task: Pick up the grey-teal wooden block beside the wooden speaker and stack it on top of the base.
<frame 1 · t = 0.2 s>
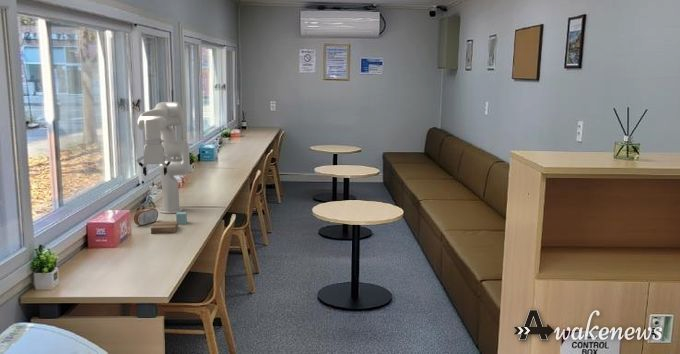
hand: (155, 175, 295), 31 cm above the counter, tool pointing down, fingers open, 9 cm apart
block: (181, 223, 318), on the counter
wooden speaker: (147, 224, 316), on the counter
base: (164, 230, 304), on the counter
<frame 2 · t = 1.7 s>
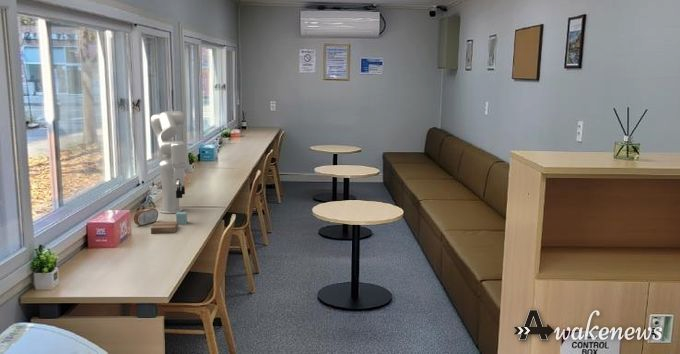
hand: (180, 196, 314), 16 cm above the counter, tool pointing down, fingers open, 9 cm apart
nothing on the counter moved.
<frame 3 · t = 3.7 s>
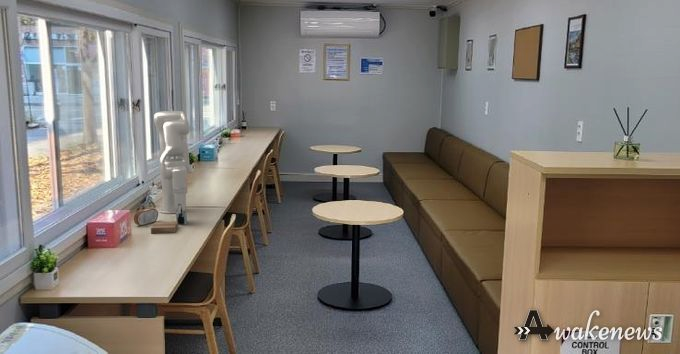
hand: (181, 222, 318), 1 cm above the counter, tool pointing down, fingers closed on block, 5 cm apart
block: (181, 223, 318), on the counter, touching gripper
everything else where it was.
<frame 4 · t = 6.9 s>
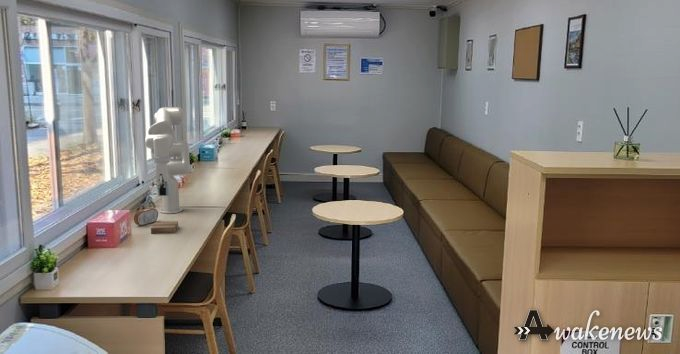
hand: (163, 193, 301), 20 cm above the counter, tool pointing down, fingers closed on block, 5 cm apart
block: (163, 195, 301), point 19 cm above the counter, touching gripper
everything else where it was.
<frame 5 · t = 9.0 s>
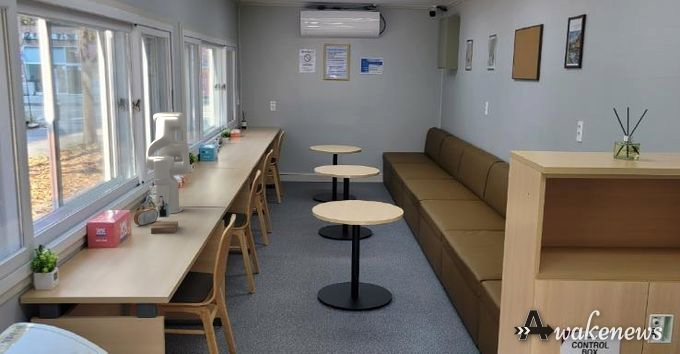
hand: (164, 215, 302), 8 cm above the counter, tool pointing down, fingers closed on block, 5 cm apart
block: (164, 216, 303), point 8 cm above the counter, touching gripper
everything else where it was.
when the fingers open (5 cm above the counter, at t = 10.6 s): block stays where it is, resting on base.
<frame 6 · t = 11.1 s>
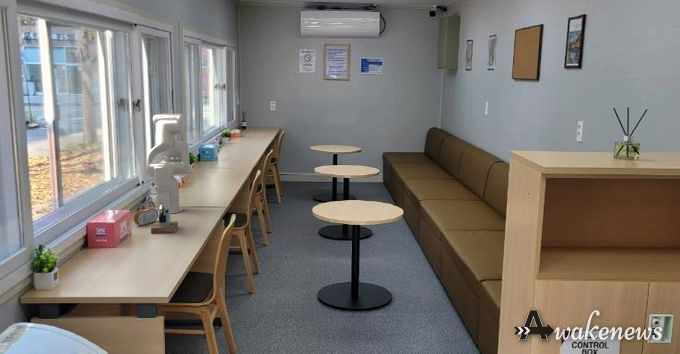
hand: (164, 220, 303), 6 cm above the counter, tool pointing down, fingers open, 9 cm apart
block: (164, 224, 304), point 3 cm above the counter, touching base
everything else where it was.
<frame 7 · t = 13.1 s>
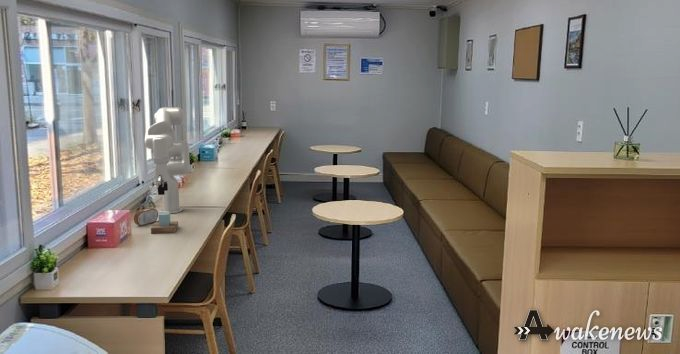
hand: (163, 192, 301), 20 cm above the counter, tool pointing down, fingers open, 9 cm apart
nothing on the counter moved.
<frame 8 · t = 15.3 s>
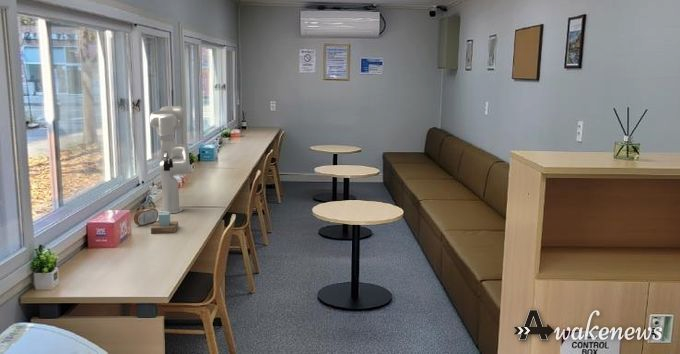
hand: (168, 169, 313), 30 cm above the counter, tool pointing down, fingers open, 9 cm apart
nothing on the counter moved.
at the end: block inside the target area on the base (0.1 cm from its centre), point 3.0 cm above the base's base; block tilted 0°; the gripper is holding nothing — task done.
